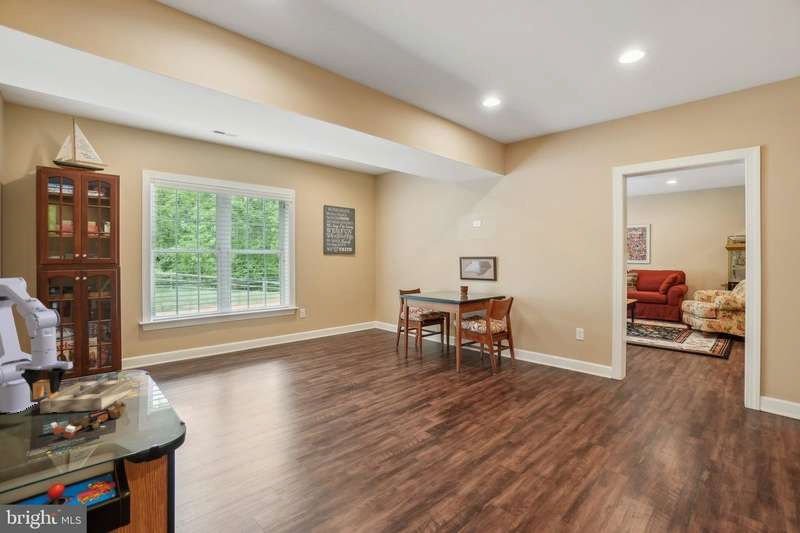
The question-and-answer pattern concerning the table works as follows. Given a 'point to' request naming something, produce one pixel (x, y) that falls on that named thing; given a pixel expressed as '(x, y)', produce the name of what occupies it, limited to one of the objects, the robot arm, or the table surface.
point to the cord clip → (42, 389)
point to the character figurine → (90, 420)
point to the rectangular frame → (86, 396)
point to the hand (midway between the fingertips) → (45, 392)
